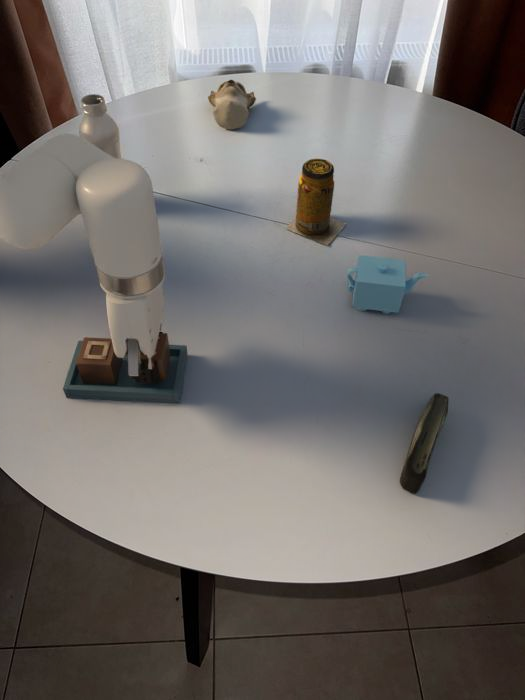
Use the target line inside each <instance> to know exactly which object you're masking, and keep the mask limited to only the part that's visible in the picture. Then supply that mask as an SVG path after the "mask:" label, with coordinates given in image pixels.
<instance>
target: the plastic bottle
mask: <svg viewBox="0 0 525 700" xmlns="http://www.w3.org/2000/svg"><path fill="white" fill-rule="evenodd" d="M80 104H81V111H82V114H84V115H83V116H82V119H81V121H80V123H79V126H78V134H79V137H81V138H83V139H85V140H87V141H88V142H90V143H91V144H93V145H95V146H96V147H98V148H99V149H101V150H102V151H104V152H105V153H107V154H108V155H110V156H112V157H114V158H117V159H122V154H121V141H120V139H121V138H120V137H121V136H120V128H119V126H118V124H117V122H116V120H114V118H113V117H112V116H111V115H110V114H108V112H107V111H108V107H107V105H106V100H105V98H104V96H102V95H101V94H95V93H93V94H92V93H91V94H86V95H85V96H82V98H81V99H80Z"/></svg>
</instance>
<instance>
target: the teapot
mask: <svg viewBox="0 0 525 700" xmlns="http://www.w3.org/2000/svg"><path fill="white" fill-rule="evenodd" d="M351 274H354V277H352V275H351ZM346 277H347V280H348V282H349V284H348V285H347V290H348V291H349V292H352V303H351V308H355V309H358V310H359V311H362V312H365V311H368V310H371V311H378V312H379V311H380V312H382V313H383V314H386V315H388V314H391V313H397V314H398V313H399V312H400V308H401V306H402V303H403V302H402V301H403V298H404V296H405V295H406V294H408V293H409V292H410V291H412V289H413V288H414V287H415V285H416V284H417V282H418V281H419V280H420V279H423V278H426V277H429V274H428V273H426V272H417V273H415V274H414V275H412V276H411V277H410V278H409V279H407V280H406V278H407V277H406V259H401V258H400V259H399V258H391V257H382V256H375V255H374V256H373V255H364V254H358V257H357V263H356V266H354V267H350V268H349V269H348V270H347V272H346ZM353 278H354V279H353Z"/></svg>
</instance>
